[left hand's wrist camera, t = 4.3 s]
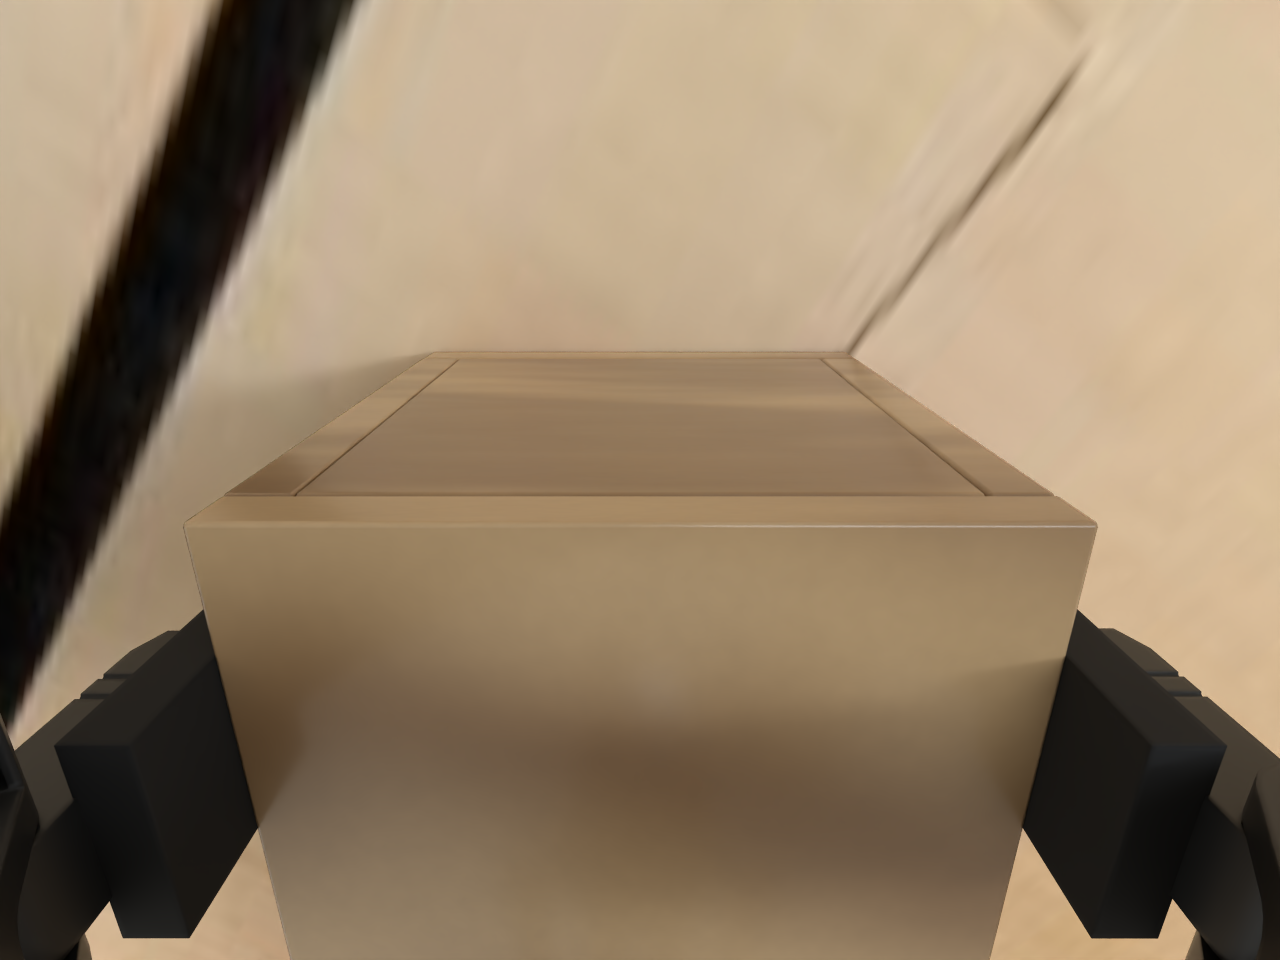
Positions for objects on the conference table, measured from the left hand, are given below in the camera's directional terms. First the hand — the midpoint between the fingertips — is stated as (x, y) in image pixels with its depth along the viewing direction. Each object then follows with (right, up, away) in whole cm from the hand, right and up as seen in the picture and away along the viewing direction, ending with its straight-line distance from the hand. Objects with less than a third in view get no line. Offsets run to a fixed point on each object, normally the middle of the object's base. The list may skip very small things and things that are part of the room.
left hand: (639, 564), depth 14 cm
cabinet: (0, -5, +8) cm, 9 cm away
